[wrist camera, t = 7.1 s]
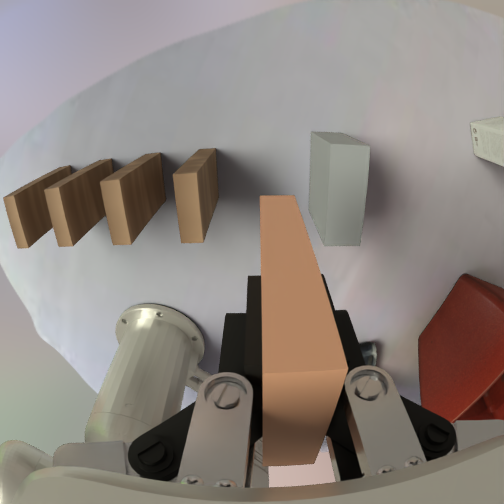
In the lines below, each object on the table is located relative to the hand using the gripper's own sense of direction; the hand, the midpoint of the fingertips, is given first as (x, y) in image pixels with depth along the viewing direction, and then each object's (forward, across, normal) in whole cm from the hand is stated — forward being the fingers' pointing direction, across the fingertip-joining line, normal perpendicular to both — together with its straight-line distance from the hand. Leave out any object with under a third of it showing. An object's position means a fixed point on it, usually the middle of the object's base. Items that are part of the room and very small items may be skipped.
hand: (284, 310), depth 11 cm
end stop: (+21, -6, 0) cm, 21 cm away
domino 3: (+21, +11, 0) cm, 23 cm away
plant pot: (+21, -31, +21) cm, 42 cm away
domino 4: (+21, +6, 0) cm, 21 cm away
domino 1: (+21, +22, 0) cm, 30 cm away
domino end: (+5, 0, 0) cm, 5 cm away
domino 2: (+21, +17, 0) cm, 26 cm away
